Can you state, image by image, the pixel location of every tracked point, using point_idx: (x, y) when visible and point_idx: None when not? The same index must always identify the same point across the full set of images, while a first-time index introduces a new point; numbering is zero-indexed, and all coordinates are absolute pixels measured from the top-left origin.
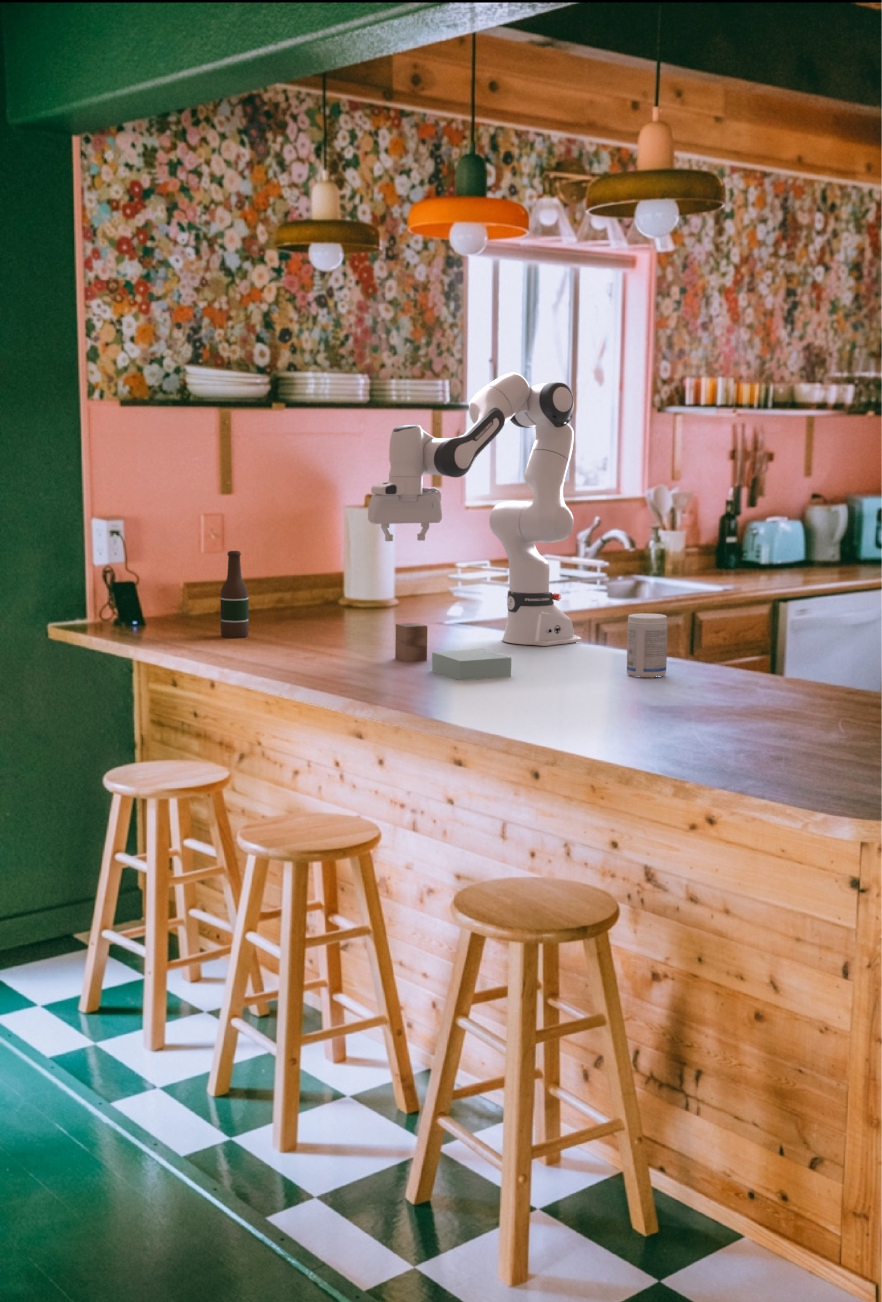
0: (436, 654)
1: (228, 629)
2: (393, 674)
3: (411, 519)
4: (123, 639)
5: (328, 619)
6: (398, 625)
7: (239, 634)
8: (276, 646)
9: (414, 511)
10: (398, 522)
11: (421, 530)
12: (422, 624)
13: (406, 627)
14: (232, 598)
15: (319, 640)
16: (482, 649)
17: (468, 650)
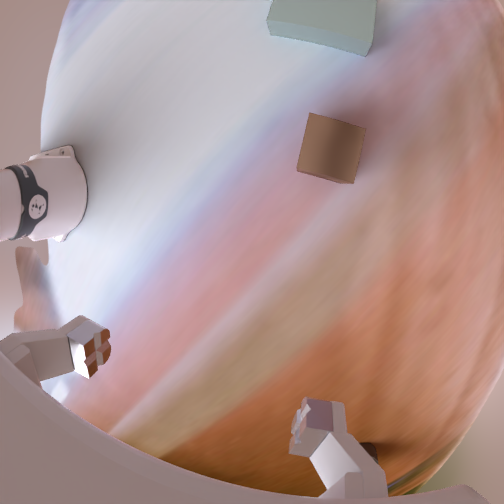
0: (373, 32)
1: (375, 453)
2: (431, 80)
3: (88, 454)
4: (435, 460)
5: (187, 459)
6: (356, 168)
7: (366, 445)
8: (390, 385)
9: (12, 487)
10: (263, 495)
11: (56, 374)
12: (305, 134)
13: (365, 129)
14: None
15: (306, 394)
16: (271, 16)
17: (301, 20)
